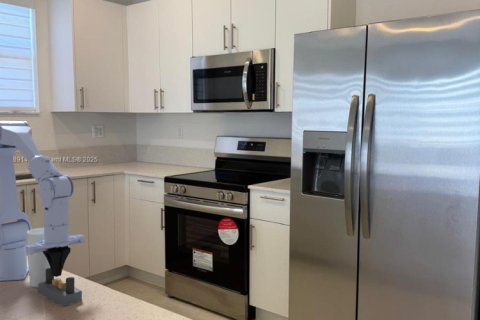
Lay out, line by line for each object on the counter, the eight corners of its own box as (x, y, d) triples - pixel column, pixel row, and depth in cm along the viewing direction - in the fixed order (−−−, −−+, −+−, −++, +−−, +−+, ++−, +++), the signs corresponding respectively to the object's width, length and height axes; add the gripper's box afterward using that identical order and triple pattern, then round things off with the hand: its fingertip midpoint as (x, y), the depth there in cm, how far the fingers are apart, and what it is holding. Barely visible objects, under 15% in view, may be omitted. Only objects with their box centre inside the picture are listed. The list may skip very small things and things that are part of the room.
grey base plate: (38, 292, 110) (38, 283, 109) (56, 287, 114) (56, 278, 113) (63, 306, 102) (63, 296, 102) (81, 300, 106) (81, 290, 106)
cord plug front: (64, 292, 105) (64, 278, 104) (71, 290, 106) (71, 276, 106) (68, 294, 103) (68, 280, 103) (76, 292, 105) (76, 278, 105)
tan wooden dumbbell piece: (51, 284, 108) (51, 279, 108) (58, 282, 110) (58, 277, 110) (61, 288, 106) (61, 284, 105) (67, 286, 107) (67, 282, 107)
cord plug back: (44, 282, 110) (44, 269, 110) (51, 280, 112) (51, 267, 112) (48, 284, 109) (48, 271, 109) (55, 282, 111) (55, 269, 110)
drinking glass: (43, 290, 111) (43, 235, 109) (21, 287, 112) (20, 232, 111) (59, 281, 118) (59, 228, 116) (38, 278, 119) (37, 226, 117)
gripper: (36, 231, 99) (36, 287, 100) (90, 221, 110) (90, 271, 112) (21, 226, 103) (22, 280, 104) (75, 216, 115) (75, 265, 116)
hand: (56, 275), depth 108 cm, fingers closed
